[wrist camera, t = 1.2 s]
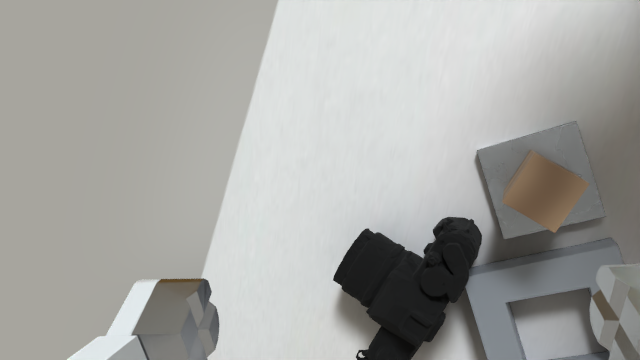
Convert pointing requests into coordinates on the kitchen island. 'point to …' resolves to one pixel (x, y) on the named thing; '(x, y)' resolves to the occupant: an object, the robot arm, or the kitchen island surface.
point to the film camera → (408, 284)
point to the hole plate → (532, 290)
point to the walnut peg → (543, 191)
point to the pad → (553, 145)
